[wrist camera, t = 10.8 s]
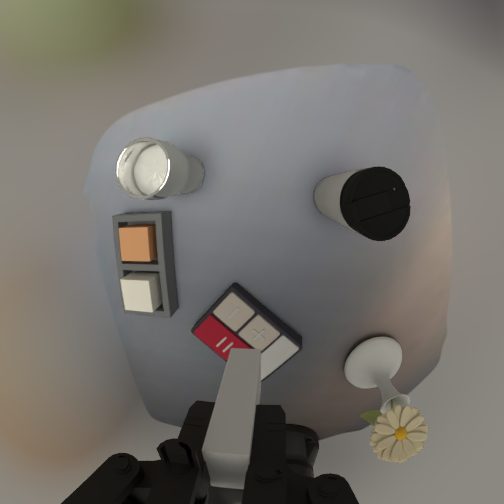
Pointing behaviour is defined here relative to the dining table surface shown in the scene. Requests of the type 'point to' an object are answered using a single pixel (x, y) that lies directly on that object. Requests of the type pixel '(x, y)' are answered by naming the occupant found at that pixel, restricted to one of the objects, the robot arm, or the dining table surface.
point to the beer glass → (157, 170)
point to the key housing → (157, 265)
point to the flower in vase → (386, 400)
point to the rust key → (138, 242)
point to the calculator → (247, 330)
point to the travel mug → (365, 201)
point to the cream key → (141, 291)
